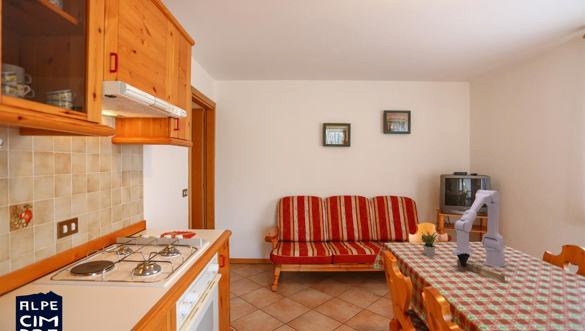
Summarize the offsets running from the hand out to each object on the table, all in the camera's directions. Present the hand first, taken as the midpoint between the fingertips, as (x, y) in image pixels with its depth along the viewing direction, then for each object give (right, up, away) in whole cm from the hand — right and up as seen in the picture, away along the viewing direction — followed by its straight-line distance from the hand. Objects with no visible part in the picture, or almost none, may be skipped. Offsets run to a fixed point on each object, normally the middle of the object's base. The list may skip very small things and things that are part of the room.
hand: (463, 266), depth 152 cm
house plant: (-5, -2, +25) cm, 26 cm away
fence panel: (+2, -1, -1) cm, 2 cm away
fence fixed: (+7, -1, -12) cm, 14 cm away
